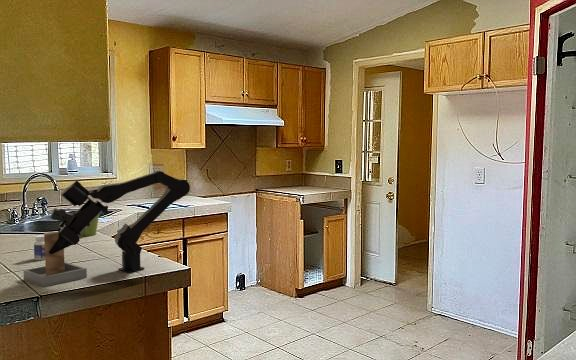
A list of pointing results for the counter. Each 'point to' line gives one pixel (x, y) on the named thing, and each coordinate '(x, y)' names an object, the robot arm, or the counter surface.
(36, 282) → the box
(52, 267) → the walnut block
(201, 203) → the counter surface
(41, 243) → the pill bottle
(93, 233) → the plant pot
